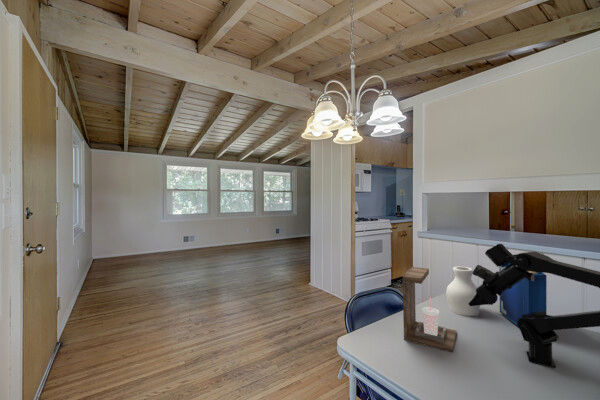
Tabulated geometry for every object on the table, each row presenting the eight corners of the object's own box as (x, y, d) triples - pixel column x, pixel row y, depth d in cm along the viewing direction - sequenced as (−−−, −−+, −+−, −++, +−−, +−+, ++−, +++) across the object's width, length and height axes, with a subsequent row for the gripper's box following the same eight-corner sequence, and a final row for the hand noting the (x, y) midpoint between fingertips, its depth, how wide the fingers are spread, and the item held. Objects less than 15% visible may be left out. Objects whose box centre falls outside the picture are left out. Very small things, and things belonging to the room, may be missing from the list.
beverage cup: (424, 328, 108) (424, 293, 108) (441, 333, 104) (441, 296, 104) (419, 334, 103) (419, 297, 103) (437, 339, 99) (436, 301, 99)
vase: (476, 306, 131) (475, 265, 131) (486, 318, 117) (485, 273, 117) (443, 303, 135) (442, 263, 135) (450, 315, 122) (449, 271, 122)
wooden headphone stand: (452, 352, 92) (451, 282, 92) (403, 339, 101) (402, 275, 101) (456, 333, 105) (455, 271, 106) (413, 323, 114) (412, 266, 115)
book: (551, 339, 100) (549, 271, 100) (529, 337, 101) (527, 271, 101) (516, 314, 121) (515, 259, 121) (499, 313, 122) (497, 258, 123)
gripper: (491, 255, 106) (460, 278, 113) (483, 263, 92) (448, 289, 100) (518, 279, 100) (483, 301, 108) (512, 291, 87) (473, 316, 94)
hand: (472, 301), depth 102 cm, fingers open, 9 cm apart
